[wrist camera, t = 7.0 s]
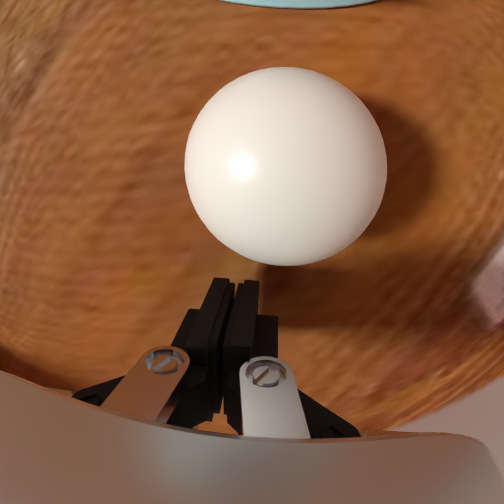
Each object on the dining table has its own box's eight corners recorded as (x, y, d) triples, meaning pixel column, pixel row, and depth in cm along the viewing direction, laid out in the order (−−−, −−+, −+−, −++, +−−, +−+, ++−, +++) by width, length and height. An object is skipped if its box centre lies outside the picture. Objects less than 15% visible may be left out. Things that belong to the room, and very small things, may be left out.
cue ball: (238, 332, 8) (246, 224, 12) (434, 265, 6) (371, 175, 11) (106, 161, 5) (176, 107, 9) (381, 31, 3) (319, 42, 8)
